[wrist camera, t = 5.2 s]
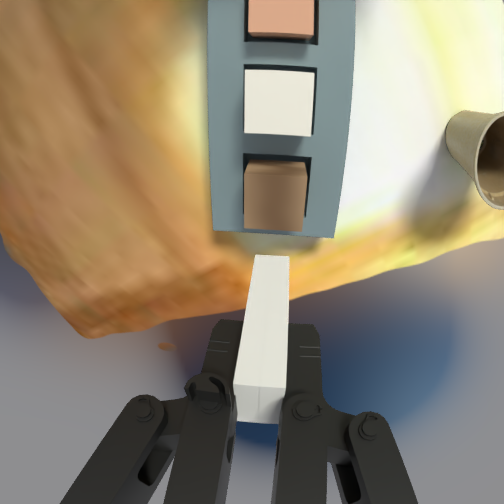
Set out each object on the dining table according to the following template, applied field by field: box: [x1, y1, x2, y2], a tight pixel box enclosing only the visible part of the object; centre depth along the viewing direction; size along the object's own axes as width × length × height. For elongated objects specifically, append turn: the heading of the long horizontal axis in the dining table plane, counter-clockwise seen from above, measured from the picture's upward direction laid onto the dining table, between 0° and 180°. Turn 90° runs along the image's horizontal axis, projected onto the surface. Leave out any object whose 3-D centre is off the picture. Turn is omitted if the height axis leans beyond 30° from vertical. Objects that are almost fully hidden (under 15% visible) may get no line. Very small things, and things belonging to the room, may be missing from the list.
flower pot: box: [446, 110, 504, 210], centre depth 21 cm, size 9×9×9 cm
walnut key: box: [244, 159, 307, 232], centre depth 25 cm, size 5×5×4 cm
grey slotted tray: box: [207, 0, 355, 238], centre depth 24 cm, size 12×26×4 cm, turn 179°
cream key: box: [244, 70, 314, 137], centre depth 21 cm, size 5×5×4 cm
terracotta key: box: [248, 0, 314, 41], centre depth 18 cm, size 5×5×4 cm
